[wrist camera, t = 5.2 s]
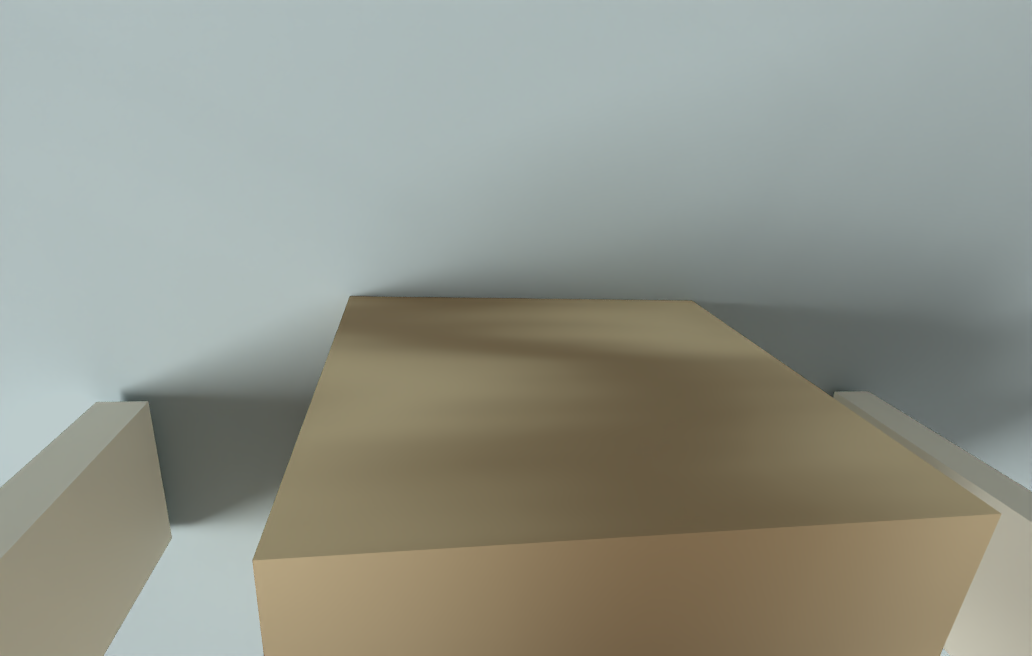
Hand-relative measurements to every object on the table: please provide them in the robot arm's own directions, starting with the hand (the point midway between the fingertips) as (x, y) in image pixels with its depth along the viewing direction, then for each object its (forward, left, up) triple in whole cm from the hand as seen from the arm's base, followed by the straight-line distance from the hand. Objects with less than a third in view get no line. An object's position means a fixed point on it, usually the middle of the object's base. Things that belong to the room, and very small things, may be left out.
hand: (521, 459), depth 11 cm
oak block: (0, 0, 0) cm, 0 cm away
